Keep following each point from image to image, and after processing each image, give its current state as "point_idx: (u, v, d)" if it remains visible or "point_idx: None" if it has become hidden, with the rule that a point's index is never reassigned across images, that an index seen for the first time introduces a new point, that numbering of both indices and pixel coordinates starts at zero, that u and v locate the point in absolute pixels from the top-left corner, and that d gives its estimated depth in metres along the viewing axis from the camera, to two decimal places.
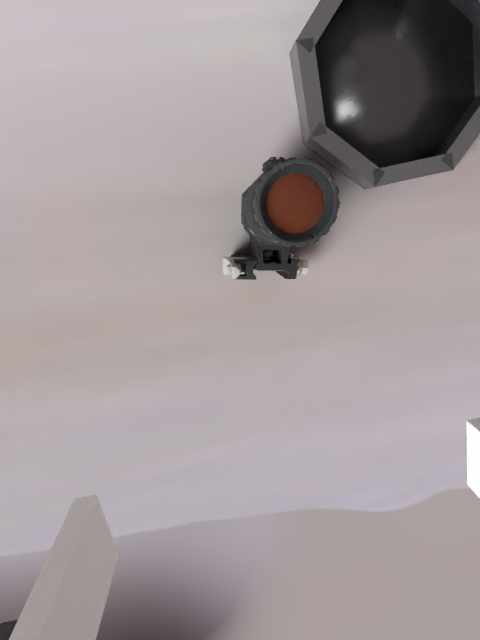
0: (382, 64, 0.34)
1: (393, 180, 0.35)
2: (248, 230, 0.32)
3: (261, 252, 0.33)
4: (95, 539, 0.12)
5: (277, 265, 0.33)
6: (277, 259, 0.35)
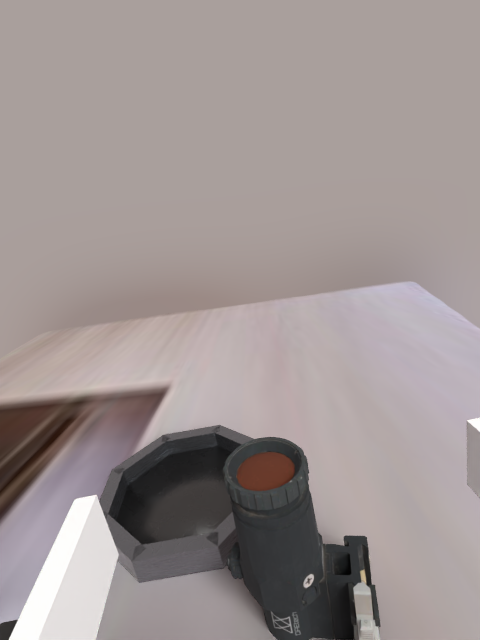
0: (176, 502, 0.41)
1: None
2: (308, 591, 0.24)
3: (336, 576, 0.25)
4: (95, 539, 0.12)
5: (352, 557, 0.26)
6: None
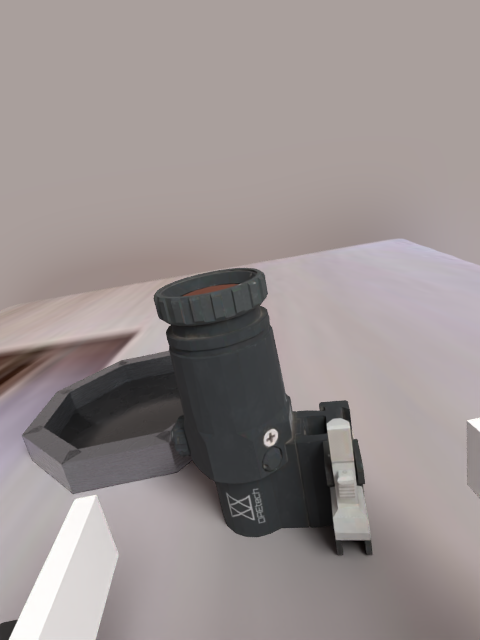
0: (129, 418, 0.34)
1: None
2: (270, 451, 0.19)
3: (308, 436, 0.19)
4: (95, 539, 0.12)
5: (328, 419, 0.20)
6: None
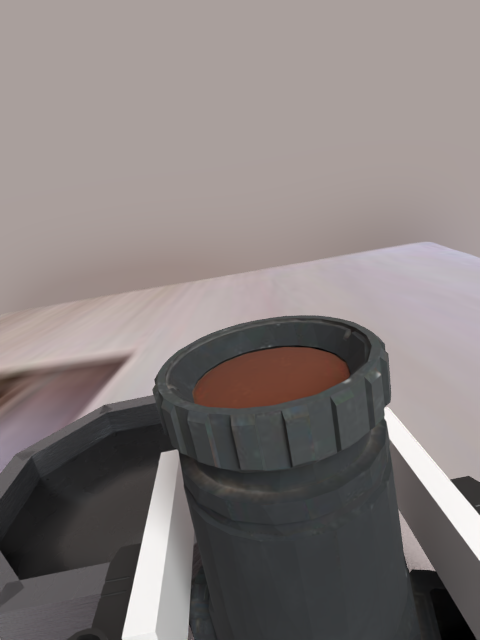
0: (108, 502, 0.25)
1: None
2: None
3: None
4: (183, 485, 0.14)
5: None
6: None
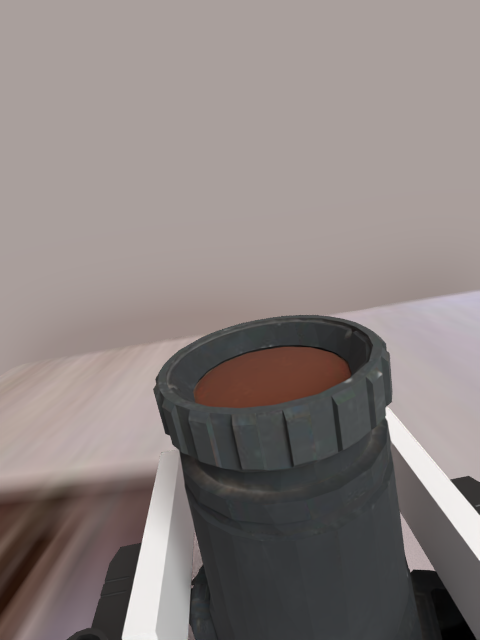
0: None
1: None
2: None
3: None
4: (183, 486, 0.14)
5: None
6: None
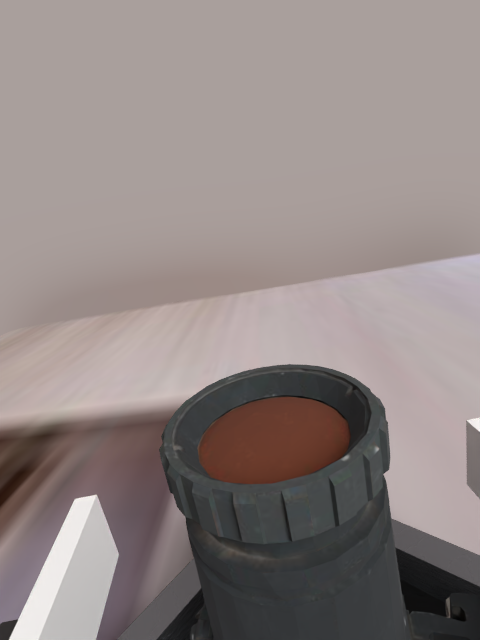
0: None
1: None
2: None
3: None
4: (95, 539, 0.12)
5: None
6: None
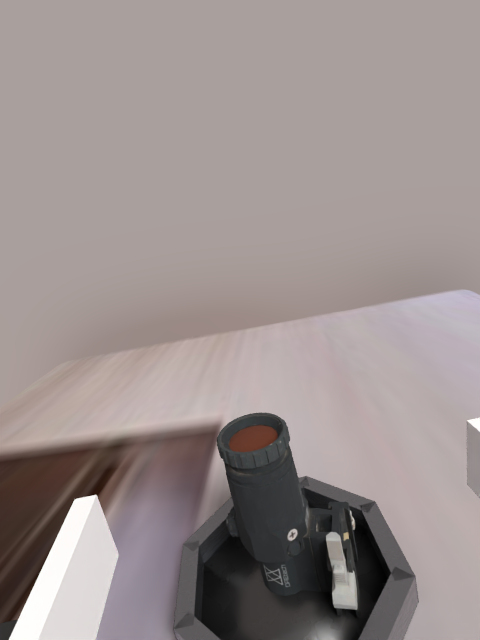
0: None
1: (401, 556, 0.29)
2: (292, 544, 0.28)
3: (318, 533, 0.29)
4: (95, 539, 0.12)
5: (333, 518, 0.30)
6: None
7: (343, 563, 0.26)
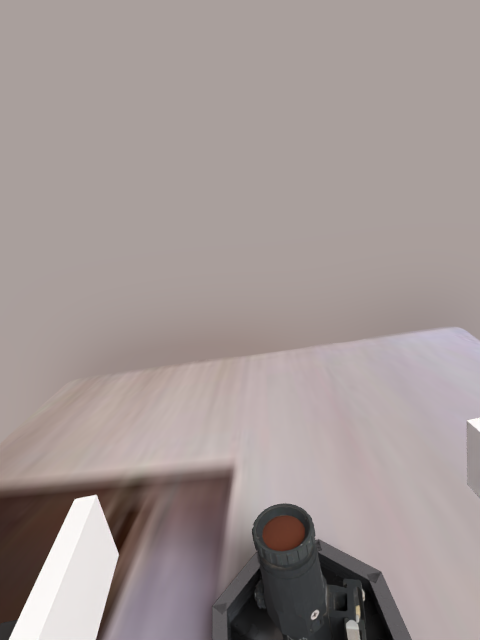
0: None
1: (405, 630, 0.35)
2: (314, 622, 0.33)
3: (336, 612, 0.34)
4: (95, 539, 0.12)
5: (348, 597, 0.35)
6: (347, 610, 0.36)
7: None
